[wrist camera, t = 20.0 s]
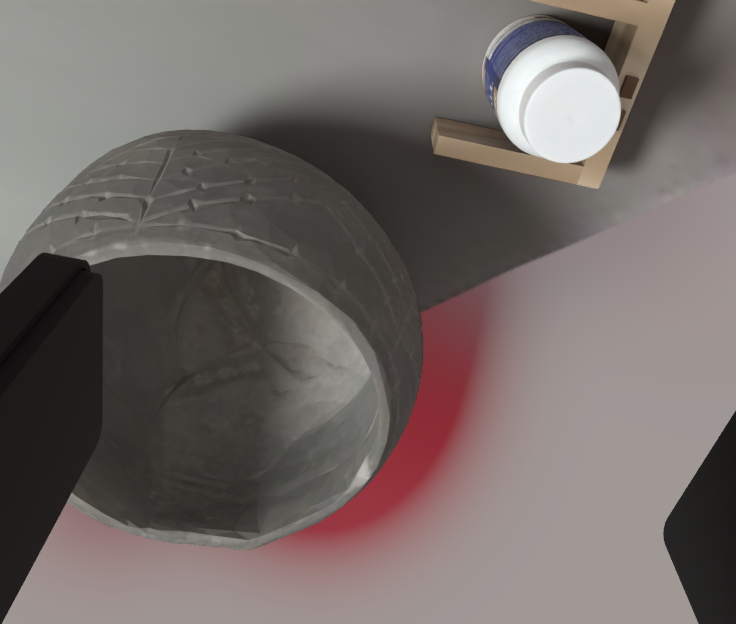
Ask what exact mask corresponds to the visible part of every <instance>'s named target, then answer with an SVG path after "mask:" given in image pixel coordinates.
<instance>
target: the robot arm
mask: <svg viewBox="0 0 736 624" xmlns="http://www.w3.org/2000/svg"><path fill="white" fill-rule="evenodd" d="M102 415H103V279H102V276H101V275H100V274H99V273H94V272H91V268H90V265H89V263H88V262H87V261H86V260H82V259H77V258H72V257H66V256H61V255H56V254H51V253H41V254H39V255H38V256H37V257H36V258H35V259H34V260H33V261H32V262H31V263H30V264H29V265H28V266H27V267H26V268H25V269H24V270H23V271H22V272H21V273H20V274H19V275H18V276H17V277H16V278H15V279H14V280H13V281H12V282H11V283H10V284H9V285H8V286H7V287H6V288H5V289H4V290H3V291H2V292H1V293H0V624H2V622H3V620H4V618H5V616H6V615H7V613H8V610H9V609H10V607H11V605H12V603H13V601H14V600H15V598H16V596H17V594H18V592H19V590H20V588H21V586H22V585H23V583H24V581H25V579H26V577H27V575H28V573H29V571H30V570H31V568H32V566H33V564H34V562H35V560H36V558H37V557H38V555H39V552H40V551H41V549H42V547H43V545H44V544H45V542H46V540H47V538H48V536H49V534H50V532H51V530H52V528H53V527H54V525H55V523H56V521H57V519H58V517H59V515H60V514H61V511H62V510H63V508H64V506H65V504H66V502H67V501H68V499H69V497H70V495H71V493H72V491H73V489H74V487H75V486H76V484H77V482H78V480H79V478H80V476H81V474H82V473H83V471H84V469H85V467H86V465H87V463H88V461H89V459H90V458H91V456H92V454H93V452H94V450H95V448H96V446H97V444H98V441H99V438H100V434H101V429H102ZM664 541H665V545H666V548H667V550H668V552H669V555H670V557H671V560H672V562H673V564H674V566H675V569H676V571H677V574H678V576H679V578H680V581H681V583H682V585H683V588H684V590H685V592H686V595H687V597H688V599H689V602H690V604H691V607H692V609H693V611H694V614H695V616H696V618H697V621H698V623H699V624H736V411H735V413H734V415H733V416H732V417H731V419H730V421H729V422H728V424H727V425H726V427H725V429H724V431H723V432H722V433H721V435H720V436H719V438H718V440H717V441H716V443H715V444H714V446H713V447H712V449H711V451H710V452H709V454H708V455H707V457H706V458H705V460H704V462H703V463H702V465H701V466H700V468H699V469H698V471H697V473H696V474H695V476H694V477H693V479H692V480H691V482H690V484H689V485H688V487H687V488H686V490H685V491H684V493H683V495H682V496H681V498H680V499H679V501H678V502H677V504H676V506H675V507H674V509H673V510H672V512H671V513H670V515H669V517H668V518H667V520H666V522H665V527H664Z"/></svg>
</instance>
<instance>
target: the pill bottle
mask: <svg viewBox="0 0 736 624" xmlns="http://www.w3.org/2000/svg"><path fill="white" fill-rule="evenodd" d="M482 79H483V85H484V88H485V92H486V95H487V97H488V99H489V101H490V103H491V106H492V108H493V110H494V112H495V114H496V116H497V119H498V120H499V123H500V125H501V127H502V129H503V130H504V132H505V134H506V135H507V137H508V138H509V139H510V140H511V141H512V143H513V144H515V145H516V146H517V147H518V148H519V149H521V150H522V151H524V152H526V153H528V154H530V155H533V156H536V157H541V158H545V159H548V160H550V161H553V162H558V163H574V162H579V161H582V160H585V159H587V158H589V157H591V156H593V155H595V154H596V153H597V152H599V151H600V150H601V149H602V148H604V147H605V146H606V144H607V143H608V142H609V141H610V140H611V138H612V137H613V135H614V133H615V131H616V129H617V127H618V125H619V121H620V117H621V101H620V97H619V93H620V88H619V79H618V76H617V72H616V70H615V67H614V65H613V64H612V62H611V60H610V59H609V57H608V56H607V55H606V54H605V53H604V52H603V51H602V50H601V49H600V48H599V47H598V46H597V45H596V44H594V43H593V42H591V41H590V40H588V39H587V38H586V37H584V36H583V35H581V34H580V33H579V32H577V31H576V30H574V29H573V28H572V27H570V26H569V25H568V24H566V23H564V22H563V21H561V20H559V19H556V18H553V17H551V16H545V15H533V16H528V17H523V18H521V19H519V20H516V21H514V22H513V23H511V24H509V25H508V26H506V27H505V28H504V29H503V30H501V31H500V32H499V34H498V35H497V36H496V37H495V38H494V40H493V41H492V43H491V44H490V46H489V48H488V50H487V52H486V55H485V58H484V61H483V68H482Z"/></svg>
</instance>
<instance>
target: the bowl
mask: <svg viewBox="0 0 736 624" xmlns="http://www.w3.org/2000/svg"><path fill="white" fill-rule="evenodd" d="M41 253H51V254H56V255H61V256H66V257H72V258H77V259H82V260H86V261H87V262H88V263H89V265H90V268H91V272H94V273H99V274H100V275H101V276H102V279H103V415H102V429H101V434H100V438H99V441H98V444H97V446H96V448H95V450H94V452H93V454H92V456H91V458H90V459H89V461H88V463H87V465H86V467H85V469H84V471H83V473H82V474H81V476H80V478H79V480H78V482H77V484H76V486H75V487H74V489H73V491H72V493H71V495H70V497H69V499H68V501H67V502H68V503H70V504H71V505H72V506H74V507H76V508H77V509H78V510H80V511H81V512H83V513H84V514H86V515H87V516H89V517H91V518H93V519H95V520H97V521H99V522H101V523H103V524H105V525H107V526H109V527H112V528H115V529H118V530H122V531H125V532H128V533H131V534H134V535H137V536H141V537H144V538H149V539H154V540H158V541H163V542H169V543H178V544H193V545H202V546H211V547H223V548H230V549H236V550H252V549H255V548H258V547H260V546H263V545H266V544H268V543H271V542H273V541H276V540H278V539H281V538H283V537H286V536H288V535H291V534H293V533H296V532H298V531H300V530H303V529H305V528H308V527H309V526H312V525H314V524H316V523H318V522H320V521H322V520H323V519H325V518H327V517H328V516H330V515H331V514H333V513H334V512H336V511H337V510H339V509H340V508H341V507H342V506H344V505H345V504H346V503H347V502H349V501H350V500H351V499H352V498H354V497H355V496H356V495H357V494H358V493H359V492H360V491H362V490H363V489H364V488H365V487H366V486H367V485H368V484H369V483H370V482H371V481H372V479H373V478H374V477H375V475H376V474H377V473H378V472H379V470H380V469H381V468H382V467H383V465H384V463H385V462H386V460H387V459H388V457H389V456H390V454H391V453H392V451H393V449H394V448H395V446H396V445H397V443H398V441H399V439H400V437H401V435H402V433H403V431H404V430H405V428H406V426H407V424H408V421H409V418H410V415H411V412H412V409H413V407H414V404H415V400H416V397H417V393H418V390H419V384H420V378H421V372H422V365H423V334H422V330H421V325H422V321H421V316H420V310H419V304H418V300H417V296H416V293H415V290H414V287H413V284H412V280H411V278H410V275H409V273H408V270H407V268H406V265H405V263H404V261H403V260H402V258H401V257H400V255H399V253H398V252H397V250H396V249H395V247H394V246H393V244H392V242H391V241H390V239H389V238H388V236H387V235H386V233H385V232H384V231H383V229H382V228H381V227H380V226H379V224H378V223H377V221H376V220H375V219H374V218H373V217H372V215H371V214H370V213H369V212H368V211H367V210H366V209H365V208H364V207H363V205H362V204H361V203H360V202H359V201H358V200H357V199H356V198H354V196H353V195H352V194H351V193H350V192H349V191H347V190H346V189H345V188H344V187H342V186H341V185H340V184H338V183H337V182H336V181H335V180H333V179H332V178H331V177H330V176H328V175H327V174H326V173H324V172H323V171H321V170H320V169H318V168H316V167H315V166H313V165H311V164H309V163H308V162H306V161H304V160H302V159H301V158H299V157H297V156H295V155H292V154H290V153H288V152H285V151H283V150H281V149H279V148H276V147H274V146H272V145H269V144H266V143H263V142H261V141H258V140H255V139H252V138H248V137H243V136H239V135H234V134H229V133H222V132H216V131H210V130H176V131H166V132H161V133H157V134H153V135H149V136H145V137H142V138H140V139H137V140H135V141H132V142H130V143H128V144H125V145H123V146H120V147H118V148H116V149H113V150H111V151H110V152H108V153H107V154H105V155H104V156H102V157H101V158H99V159H98V160H96V161H95V162H93V163H92V164H90V165H89V166H88V167H87V168H86V169H84V170H83V171H82V172H81V173H80V174H78V175H77V177H76V178H75V179H74V180H73V181H72V182H71V183H70V184H69V185H68V186H67V187H66V188H65V189H64V190H63V191H62V192H60V193H59V194H58V195H57V196H56V197H55V198H54V199H53V200H52V201H51V202H50V203H49V204H48V205H47V206H46V208H45V209H44V210H43V211H42V213H41V214H40V215H39V216H38V218H37V219H36V220H35V221H34V222H33V224H32V225H31V226H30V227H29V229H28V230H27V231H26V233H25V235H24V236H23V238H22V240H21V241H19V243H18V245H17V247H16V249H15V251H14V252H13V254H12V256H11V258H10V260H9V262H8V264H7V266H6V268H5V270H4V273H3V276H2V279H1V282H0V293H1V292H2V291H3V290H4V289H5V288H6V287H7V286H8V285H9V284H10V283H11V282H12V281H13V280H14V279H15V278H16V277H17V276H18V275H19V274H20V273H21V272H22V271H23V270H24V269H25V268H26V267H27V266H28V265H29V264H30V263H31V262H32V261H33V260H34V259H35V258H36V257H37V256H38V255H39V254H41Z"/></svg>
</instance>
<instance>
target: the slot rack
mask: <svg viewBox="0 0 736 624" xmlns="http://www.w3.org/2000/svg"><path fill="white" fill-rule="evenodd" d="M531 1H535V2H539V3H543V4H548V5H552V6H556V7H560V8H565V9H569V10H573V11H577V12H581V13H586V14H590V15H594V16H598V17H603V18H607V19H611V20H615V23H614V25H613V28H612V31H611V34H610V36H609V39H608V42H607V44H606V47H605V50H604V53H605V54H606V55H607V56H608V57H609V59H610V60H611V62H612V64H613V65H614V67H615V70H616V72H617V76H618V79H619V88H620V93H619V97H620V101H621V117H620V121H619V125H618V127H617V129H616V131H615V133H614V135H613V137H612V138H611V140H610V141H609V142H608V143H607V144H606V146H605V147H604V148H602V149H601V150H600V151H599V152H597V153H596V154H595V155H593V156H591V157H589V158H587V159H585V160H582V161H579V162H574V163H558V162H553V161H550V160H548V159H545V158H541V157H536V156H533V155H530V154H528V153H526V152H524V151H522V150H521V149H519V148H518V147H517V146H516V145H515V144H513V143H512V141H511V140H510V139H509V138H508V137H507V135H506V134H505V132H503V131H499V130H494V129H490V128H485V127H481V126H476V125H472V124H467V123H462V122H458V121H453V120H449V119H444V118H440V117H435V119H434V122H433V126H432V130H431V140H432V146H433V151H434V154H437V155H441V156H446V157H451V158H455V159H460V160H465V161H469V162H474V163H479V164H483V165H488V166H493V167H497V168H502V169H507V170H511V171H516V172H521V173H525V174H530V175H535V176H539V177H544V178H549V179H553V180H558V181H563V182H567V183H572V184H577V185H581V186H586V187H591V188H596V189H599V187H600V184H601V182H602V179H603V177H604V174H605V172H606V169H607V167H608V165H609V162H610V160H611V157H612V155H613V152H614V150H615V147H616V145H617V142H618V140H619V138H620V135H621V133H622V130H623V128H624V125H625V123H626V120H627V118H628V116H629V113H630V111H631V108H632V106H633V103H634V101H635V98H636V96H637V94H638V91H639V89H640V86H641V84H642V81H643V79H644V76H645V74H646V71H647V69H648V67H649V64H650V62H651V59H652V57H653V54H654V52H655V49H656V47H657V45H658V42H659V40H660V37H661V35H662V32H663V30H664V27H665V25H666V23H667V20H668V18H669V15H670V13H671V10H672V8H673V5H674V3H675V0H531Z"/></svg>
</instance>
